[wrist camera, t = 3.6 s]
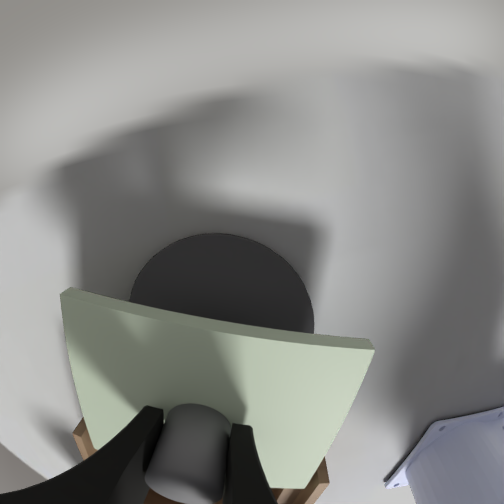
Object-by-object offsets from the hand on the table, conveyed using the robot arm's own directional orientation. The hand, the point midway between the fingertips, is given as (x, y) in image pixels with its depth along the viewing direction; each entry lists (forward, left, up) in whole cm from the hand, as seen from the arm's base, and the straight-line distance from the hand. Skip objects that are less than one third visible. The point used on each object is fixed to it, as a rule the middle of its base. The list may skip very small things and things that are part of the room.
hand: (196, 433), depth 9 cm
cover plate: (0, 0, -1) cm, 1 cm away
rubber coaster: (0, -2, -4) cm, 5 cm away
